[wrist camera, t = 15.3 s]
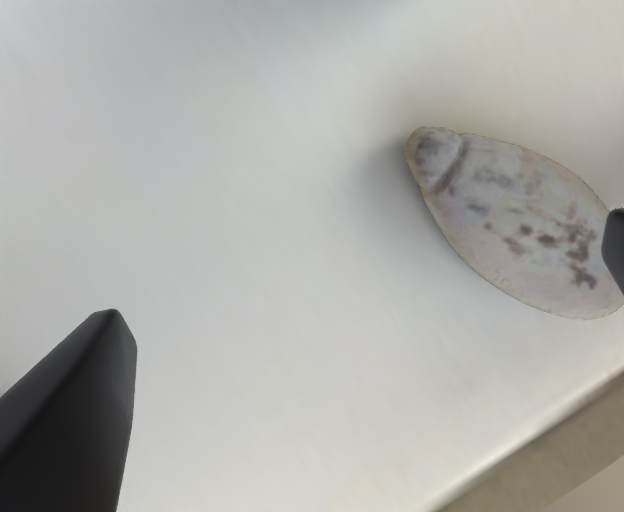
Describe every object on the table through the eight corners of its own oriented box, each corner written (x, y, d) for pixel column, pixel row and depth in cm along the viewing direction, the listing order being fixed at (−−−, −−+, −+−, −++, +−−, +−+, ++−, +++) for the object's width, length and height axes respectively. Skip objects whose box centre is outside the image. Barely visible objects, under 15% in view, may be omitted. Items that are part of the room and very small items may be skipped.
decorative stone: (435, 74, 21) (483, 79, 18) (628, 235, 28) (686, 259, 25) (355, 198, 22) (387, 223, 19) (559, 323, 29) (606, 356, 26)
